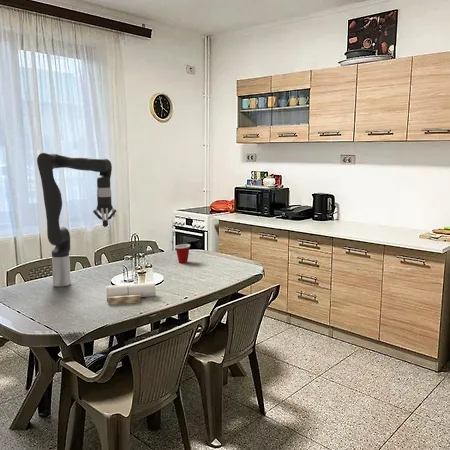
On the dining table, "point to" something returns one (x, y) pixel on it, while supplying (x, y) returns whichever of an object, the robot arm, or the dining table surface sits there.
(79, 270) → the dining table surface
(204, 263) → the dining table surface
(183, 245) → the plastic cup
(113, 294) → the cylindrical container
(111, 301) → the rest
